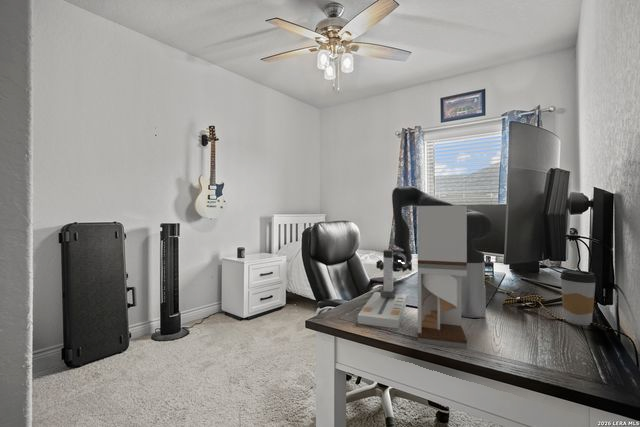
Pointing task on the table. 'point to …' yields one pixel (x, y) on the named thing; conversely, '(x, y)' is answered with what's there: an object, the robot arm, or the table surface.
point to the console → (383, 311)
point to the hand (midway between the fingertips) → (392, 268)
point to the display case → (441, 274)
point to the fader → (388, 275)
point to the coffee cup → (578, 296)
